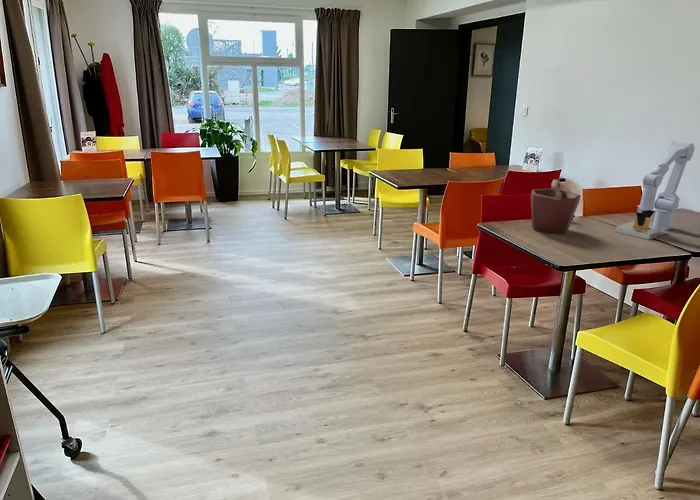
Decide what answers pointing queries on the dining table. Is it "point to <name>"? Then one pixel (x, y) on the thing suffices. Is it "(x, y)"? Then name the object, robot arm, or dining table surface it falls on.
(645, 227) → the orange rectangular block
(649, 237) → the grey plate with hole
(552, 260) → the dining table surface
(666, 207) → the robot arm
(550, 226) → the bucket
